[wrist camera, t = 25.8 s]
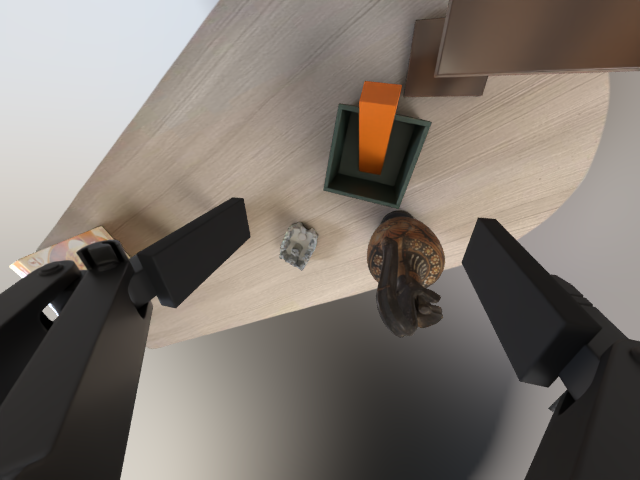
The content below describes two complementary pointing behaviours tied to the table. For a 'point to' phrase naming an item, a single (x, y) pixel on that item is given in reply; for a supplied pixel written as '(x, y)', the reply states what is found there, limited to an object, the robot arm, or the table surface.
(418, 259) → the vase
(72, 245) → the coffeecake box
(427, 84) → the stand
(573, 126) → the table surface
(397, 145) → the trash bin
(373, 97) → the block
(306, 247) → the egg carton
